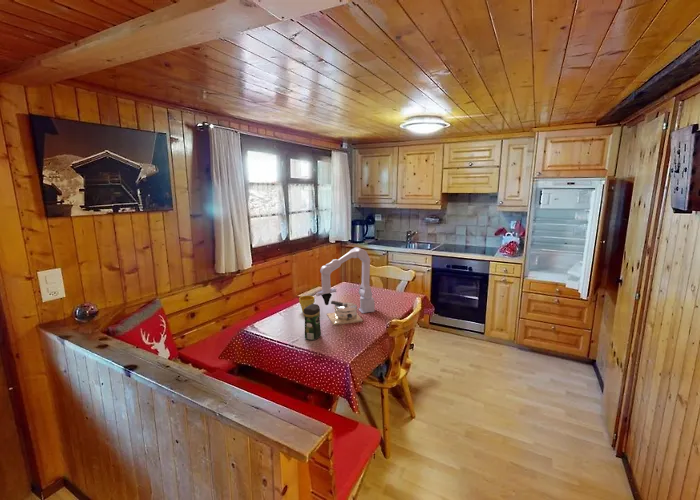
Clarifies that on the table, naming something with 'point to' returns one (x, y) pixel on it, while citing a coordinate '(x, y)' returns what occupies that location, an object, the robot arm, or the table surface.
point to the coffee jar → (312, 322)
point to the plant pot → (306, 301)
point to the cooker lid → (344, 306)
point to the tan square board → (344, 317)
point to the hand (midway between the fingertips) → (326, 304)
